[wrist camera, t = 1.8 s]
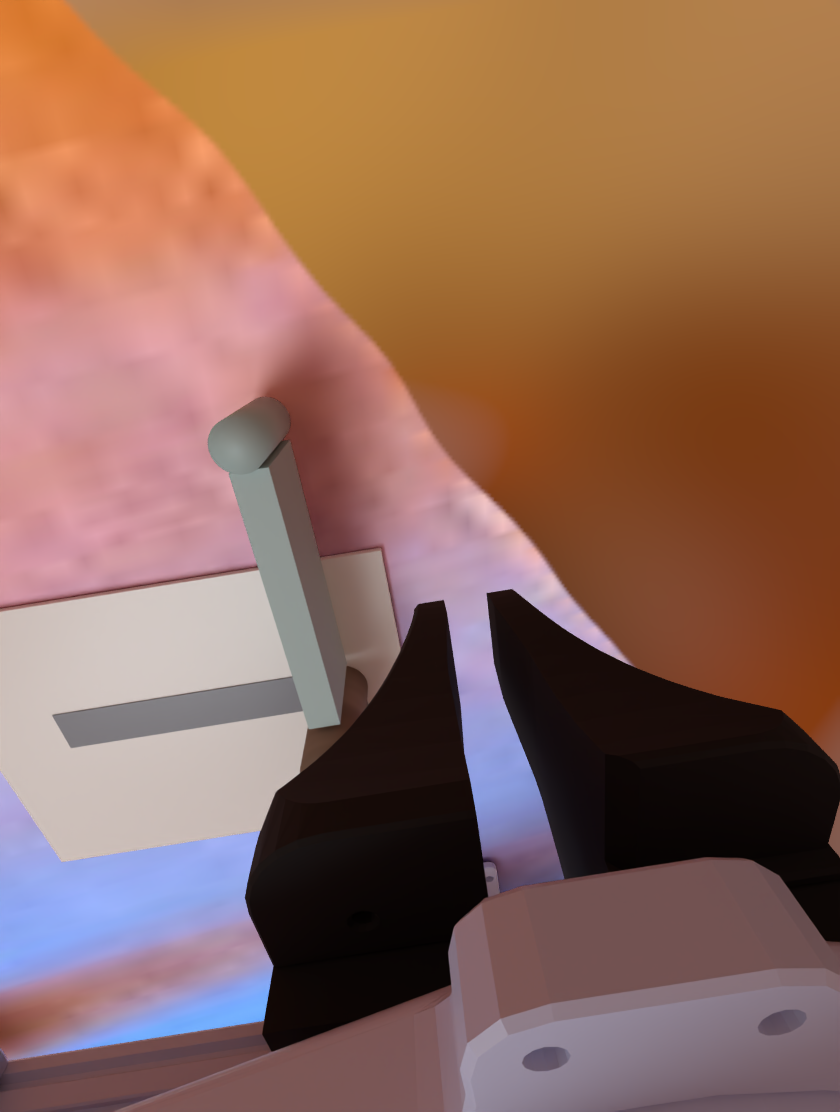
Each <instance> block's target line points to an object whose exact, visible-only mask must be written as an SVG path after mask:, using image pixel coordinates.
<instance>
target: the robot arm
mask: <svg viewBox="0 0 840 1112" xmlns="http://www.w3.org/2000/svg"><path fill="white" fill-rule="evenodd" d="M487 601H488V610H489V620H490V629H491V638H492V648H493V657H494V664H495V668H496V672H497V676H498V680H499V684H500V688H501V691H502V695H503V699H504V701H505V704H506V707H507V709H508V712H509V714H510V717H511V719H512V722H513V724H514V727H515V729H516V732H517V734H518V737H519V739H520V742H521V744H522V747H523V749H524V752H525V754H526V757H527V759H528V762H529V764H530V767H531V769H532V772H533V774H534V777H535V779H536V782H537V785H538V788H539V791H540V794H541V797H542V800H543V804H544V807H545V811H546V814H547V818H548V821H549V825H550V828H551V832H552V835H553V839H554V842H555V846H556V849H557V853H558V856H559V860H560V864H561V867H562V871H563V874H564V878H565V879H564V880H558V881H551V882H545V883H539V884H532V885H526V886H521V887H518V888H515V889H512V890H509V891H506V892H503V893H500V890H499V883H498V875H497V869H496V865H495V864H494V863H492V862H484V863H483V857H482V850H481V843H480V837H479V830H478V823H477V816H476V810H475V805H474V799H473V794H472V789H471V783H470V778H469V773H468V769H467V764H466V759H465V755H464V744H463V731H462V718H461V705H460V699H459V692H458V685H457V678H456V671H455V665H454V658H453V651H452V644H451V637H450V631H449V624H448V617H447V611H446V607H445V603H444V600H441V601H435V602H429V603H422V604H418V605H417V607H416V608H415V609H414V615H413V619H412V623H411V626H410V628H409V631H408V634H407V636H406V639H405V641H404V643H403V646H402V648H401V650H400V653H399V655H398V657H397V659H396V661H395V662H394V664H393V666H392V668H391V670H390V672H389V674H388V675H387V677H386V679H385V680H384V682H383V684H382V685H381V687H380V688H379V690H378V692H377V693H376V694H375V696H374V697H373V699H372V700H371V702H370V703H369V704H368V706H367V707H366V708H365V709H364V711H363V712H362V713H361V714H360V716H359V717H358V718H357V719H356V721H355V722H354V723H353V724H352V725H351V727H350V728H349V729H348V730H347V731H346V732H345V733H344V734H343V735H342V736H341V737H340V738H339V739H338V740H337V741H336V742H335V743H334V744H333V745H332V746H331V747H330V748H329V749H328V750H327V751H326V752H325V753H324V754H323V755H321V756H320V757H319V758H318V759H317V760H316V761H315V762H313V763H312V764H311V765H310V766H308V767H307V768H306V769H305V770H303V771H302V772H301V773H300V774H298V775H297V776H296V777H294V778H293V779H292V780H291V781H289V782H288V783H287V784H286V785H284V786H283V787H281V788H280V789H279V790H277V791H276V793H275V795H274V798H273V800H272V803H271V805H270V808H269V810H268V813H267V815H266V818H265V821H264V823H263V826H262V829H261V831H260V834H259V837H258V841H257V845H256V848H255V852H254V857H253V861H252V865H251V870H250V874H249V879H248V883H247V889H246V895H245V900H246V904H247V908H248V912H249V915H250V917H251V919H252V921H253V923H254V926H255V928H256V930H257V932H258V934H259V936H260V938H261V940H262V942H263V945H264V947H265V949H266V951H267V953H268V955H269V957H270V959H271V962H272V964H273V965H274V967H273V972H272V978H271V984H270V990H269V996H268V1002H267V1007H266V1013H265V1019H264V1021H261V1022H255V1023H248V1024H242V1025H236V1026H229V1027H223V1028H216V1029H210V1030H204V1031H197V1032H191V1033H184V1034H178V1035H171V1036H165V1037H159V1038H152V1039H146V1040H139V1041H133V1042H126V1043H120V1044H114V1045H107V1046H101V1047H94V1048H88V1049H82V1050H75V1051H69V1052H62V1053H56V1054H49V1055H43V1056H37V1057H30V1058H24V1059H17V1060H11V1061H8V1060H7V1058H6V1056H5V1054H4V1052H3V1051H2V1049H1V1048H0V1112H840V858H839V856H838V855H837V854H836V853H835V851H834V850H833V849H832V848H831V846H830V845H829V844H828V842H829V838H830V834H831V831H832V827H833V824H834V820H835V816H836V813H837V809H838V806H839V802H840V773H839V770H838V767H837V765H836V763H835V762H834V761H833V760H832V759H831V758H830V757H829V756H828V755H827V754H826V753H825V752H824V751H823V750H822V749H821V748H820V747H819V746H818V745H817V744H816V743H815V742H814V741H813V740H812V738H811V737H809V735H808V734H807V733H806V732H805V731H804V730H803V729H801V728H800V727H799V726H798V725H797V724H796V723H795V722H794V721H793V720H792V719H791V718H789V717H788V716H787V715H786V714H785V713H783V712H782V711H781V710H777V709H773V708H768V707H764V706H760V705H755V704H751V703H746V702H742V701H737V700H732V699H728V698H724V697H720V696H716V695H713V694H709V693H706V692H703V691H699V690H696V689H692V688H689V687H686V686H683V685H680V684H677V683H674V682H671V681H668V680H665V679H662V678H660V677H658V676H655V675H652V674H650V673H647V672H645V671H642V670H640V669H637V668H635V667H633V666H631V665H628V664H626V663H624V662H622V661H620V660H618V659H616V658H614V657H612V656H610V655H608V654H606V653H604V652H602V651H600V650H598V649H596V648H594V647H593V646H591V645H589V644H587V643H586V642H584V641H582V640H581V639H579V638H578V637H576V636H574V635H573V634H571V633H569V632H568V631H566V630H565V629H563V628H562V627H561V626H559V625H558V624H556V623H555V622H554V621H552V620H551V619H549V618H548V617H547V616H545V615H544V614H543V613H542V612H540V611H539V610H538V609H536V608H535V607H534V606H533V605H531V604H530V603H529V602H528V601H526V600H525V599H524V598H523V597H522V596H520V595H519V594H518V593H516V592H515V591H514V590H513V589H510V590H504V591H497V592H491V593H487Z"/></svg>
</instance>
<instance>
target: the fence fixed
mask: <svg viewBox="0 0 840 1112" xmlns="http://www.w3.org/2000/svg"><path fill="white" fill-rule="evenodd" d="M367 697H368V683H367V680H366V678H365V676H364V675H363V674H362V673H361V672H360V671H359V670H357V669H355V668H353V667H350V666H347V667H346V676H345V686H344V695H343V704H342V713H341V722H340V724H339V725H333V726H327V727H321V728H314V729H309V728H308V729H307V734H306V739H305V745H304V750H303V756H302V761H301V766H300V773H301V772H302V771H303V770H305V769H306V768H307V767H308V766H310V765H311V764H312V763H313V762H315V761H316V760H317V759H318V758H319V757H320V756H321V755H323V754H324V753H325V752H326V751H327V750H328V749H329V748H330V747H331V746H332V745H333V744H334V743H335V742H336V741H337V740H338V739H339V738H340V737H341V736H342V735H343V734H344V733H345V732H346V731H347V730H348V729H349V728H350V727H351V725H352V724H353V723H354V722H355V721H356V719H357V718H358V717H359V716H360V714H361V713H362V712H363V711H364V709H365V708H366V707H367Z"/></svg>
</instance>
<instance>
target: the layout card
mask: <svg viewBox="0 0 840 1112" xmlns="http://www.w3.org/2000/svg"><path fill="white" fill-rule="evenodd" d="M320 560H321V564H322V567H323V571H324V575H325V579H326V583H327V587H328V591H329V595H330V599H331V603H332V607H333V611H334V615H335V618H336V622H337V626H338V630H339V634H340V638H341V642H342V646H343V650H344V654H345V658H346V662H347V666H350V667H353V668H355V669H357V670H359V671H360V672H361V673H362V674H363V675H364V676H365V678H366V680H367V683H368V697H367V706H368V704H369V703H370V702H371V700H372V699H373V697H374V696H375V694H376V693H377V692H378V690H379V688H380V687H381V685H382V684H383V682H384V680H385V679H386V677H387V675H388V674H389V672H390V670H391V668H392V666H393V664H394V662H395V661H396V659H397V657H398V655H399V653H400V650H401V647H400V642H399V637H398V632H397V627H396V622H395V617H394V612H393V607H392V602H391V596H390V591H389V586H388V581H387V576H386V571H385V566H384V561H383V556H382V551H381V548H375V549H369V550H362V551H356V552H350V553H344V554H338V555H331V556H325V557H320ZM307 729H308V725H307V722H306V719H305V716H304V712H303V709H302V706H301V703H300V700H299V696H298V693H297V690H296V687H295V684H294V680H293V677H292V674H291V671H290V668H289V665H288V661H287V658H286V655H285V652H284V649H283V645H282V642H281V639H280V636H279V633H278V630H277V626H276V623H275V620H274V617H273V614H272V610H271V607H270V604H269V601H268V598H267V594H266V591H265V588H264V585H263V582H262V579H261V575H260V572H259V569H258V567H257V568H251V569H245V570H238V571H232V572H226V573H220V574H214V575H207V576H201V577H195V578H189V579H183V580H176V581H170V582H164V583H158V584H152V585H145V586H139V587H133V588H127V589H120V590H114V591H108V592H102V593H96V594H89V595H83V596H77V597H71V598H65V599H58V600H52V601H46V602H40V603H34V604H27V605H21V606H15V607H9V608H3V609H0V771H1V773H2V774H3V776H4V777H5V779H6V780H7V782H8V783H9V785H10V786H11V787H12V789H13V790H14V792H15V793H16V795H17V796H18V798H19V799H20V801H21V802H22V804H23V805H24V807H25V808H26V810H27V811H28V813H29V814H30V816H31V817H32V819H33V820H34V822H35V823H36V824H37V826H38V827H39V829H40V830H41V832H42V833H43V835H44V836H45V838H46V839H47V841H48V842H49V844H50V845H51V847H52V848H53V850H54V851H55V853H56V854H57V856H58V857H59V859H60V860H61V861H62V862H66V861H72V860H78V859H84V858H91V857H97V856H103V855H110V854H116V853H122V852H129V851H135V850H141V849H148V848H154V847H160V846H167V845H173V844H179V843H186V842H192V841H198V840H205V839H211V838H217V837H224V836H230V835H236V834H243V833H249V832H255V831H261V829H262V826H263V823H264V821H265V818H266V815H267V813H268V810H269V808H270V805H271V803H272V800H273V798H274V795H275V793H276V791H277V790H279V789H280V788H281V787H283V786H284V785H286V784H287V783H288V782H289V781H291V780H292V779H293V778H294V777H296V776H297V775H298V774H300V766H301V761H302V756H303V750H304V745H305V739H306V734H307Z"/></svg>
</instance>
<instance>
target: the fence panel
mask: <svg viewBox="0 0 840 1112" xmlns="http://www.w3.org/2000/svg"><path fill="white" fill-rule="evenodd" d="M290 423H291V422H290V415H289V413H288V411H287V409H286V407H285V406H284V405H283V404H282V403H281V402H279V401H278V400H276V399H274V398H271V397H260V398H257V399H255V400H253V401H251V402H250V403H248V404H247V405H245V406H243V407H242V408H240V409H239V410H237V411H236V412H234V413H232V414H231V415H229V416H228V417H226V418H225V419H223V420H221V421H220V422H218V423H217V424H216V425H215V426H214V427H213V428H212V430H211V431H210V434H209V437H208V449H209V452H210V455H211V457H212V459H213V460H214V461H215V463H216V464H217V465H218V466H219V467H221V468H222V469H223V470H225V471H227V472H230V473H229V477H230V480H231V483H232V486H233V489H234V492H235V496H236V499H237V502H238V505H239V508H240V512H241V515H242V518H243V521H244V524H245V528H246V531H247V534H248V537H249V540H250V543H251V547H252V550H253V553H254V556H255V559H256V563H257V566H258V569H259V572H260V575H261V579H262V582H263V585H264V588H265V591H266V594H267V598H268V601H269V604H270V607H271V610H272V614H273V617H274V620H275V623H276V626H277V630H278V633H279V636H280V639H281V642H282V645H283V649H284V652H285V655H286V658H287V661H288V665H289V668H290V671H291V674H292V677H293V680H294V684H295V687H296V690H297V693H298V696H299V700H300V703H301V706H302V709H303V712H304V716H305V719H306V722H307V725H308V728H309V729H314V728H321V727H327V726H333V725H339V724H340V722H341V713H342V704H343V695H344V686H345V676H346V667H347V662H346V658H345V654H344V650H343V646H342V642H341V638H340V634H339V630H338V626H337V622H336V618H335V615H334V611H333V607H332V603H331V599H330V595H329V591H328V587H327V583H326V579H325V575H324V571H323V567H322V564H321V560H320V556H319V552H318V548H317V544H316V540H315V536H314V532H313V528H312V524H311V520H310V516H309V512H308V509H307V505H306V501H305V497H304V493H303V489H302V485H301V481H300V477H299V473H298V469H297V465H296V461H295V458H294V454H293V450H292V446H291V442H290V440H285V441H282V440H283V438H284V437H285V436H286V435H287V433H288V431H289V429H290Z"/></svg>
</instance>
